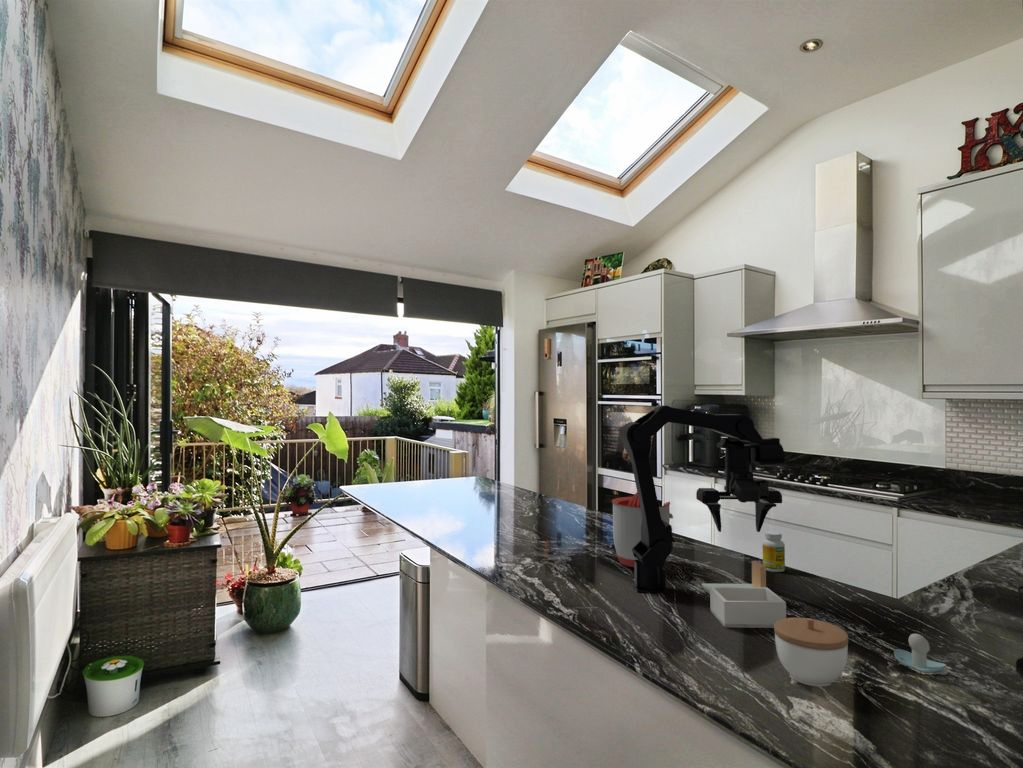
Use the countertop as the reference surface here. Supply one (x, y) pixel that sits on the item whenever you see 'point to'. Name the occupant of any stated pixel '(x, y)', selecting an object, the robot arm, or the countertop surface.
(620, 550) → the citrus juicer
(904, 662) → the pacifier
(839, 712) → the countertop surface
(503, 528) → the countertop surface
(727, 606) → the tub
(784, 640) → the lidded jar
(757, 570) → the lid
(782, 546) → the supplement bottle
